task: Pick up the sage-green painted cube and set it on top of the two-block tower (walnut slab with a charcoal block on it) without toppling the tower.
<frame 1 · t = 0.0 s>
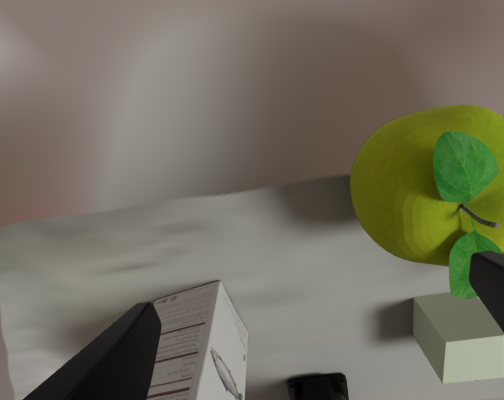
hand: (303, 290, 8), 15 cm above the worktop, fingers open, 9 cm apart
sage cube: (439, 312, 27), on the worktop
supplement box: (203, 313, 28), on the worktop
fruit: (394, 165, 21), on the worktop
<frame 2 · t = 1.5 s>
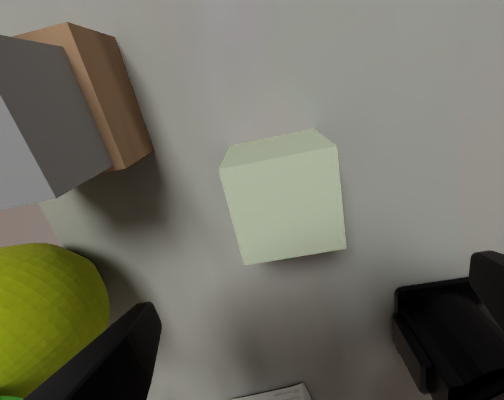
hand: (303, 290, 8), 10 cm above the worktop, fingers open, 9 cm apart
tower base: (88, 109, 16), on the worktop
sage cube: (278, 176, 17), on the worktop
fruit: (72, 268, 20), on the worktop
tower mid: (38, 123, 12), point 4 cm above the worktop
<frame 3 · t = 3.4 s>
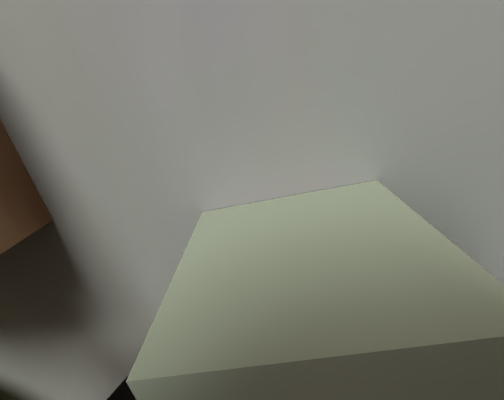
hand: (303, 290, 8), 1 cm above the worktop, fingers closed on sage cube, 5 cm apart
sage cube: (299, 267, 9), on the worktop, touching gripper
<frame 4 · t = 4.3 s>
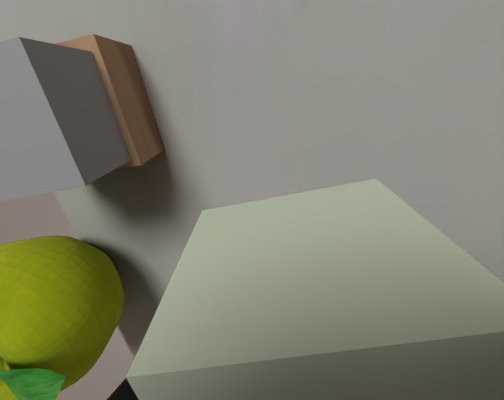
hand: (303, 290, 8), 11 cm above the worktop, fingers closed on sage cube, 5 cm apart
tower base: (105, 110, 17), on the worktop
sage cube: (298, 266, 9), point 10 cm above the worktop, touching gripper
fruit: (87, 261, 22), on the worktop
tower mid: (65, 119, 13), point 4 cm above the worktop
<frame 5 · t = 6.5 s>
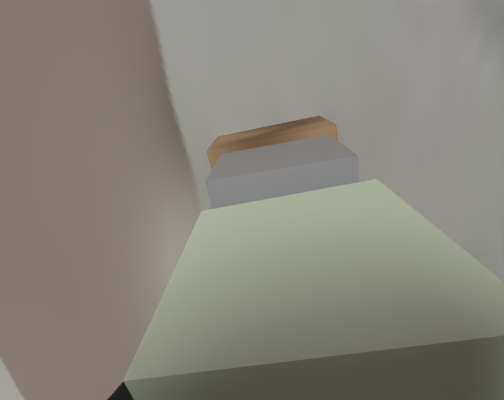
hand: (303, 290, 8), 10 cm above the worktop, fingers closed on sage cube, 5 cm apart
tower base: (276, 173, 17), on the worktop, touching tower mid
sage cube: (298, 267, 9), point 9 cm above the worktop, touching gripper
tower mid: (281, 194, 14), point 4 cm above the worktop, touching tower base
when the fingers open (10 cm above the worktop, at t = 6.5 s): sage cube drops 1 cm, resting on tower mid.
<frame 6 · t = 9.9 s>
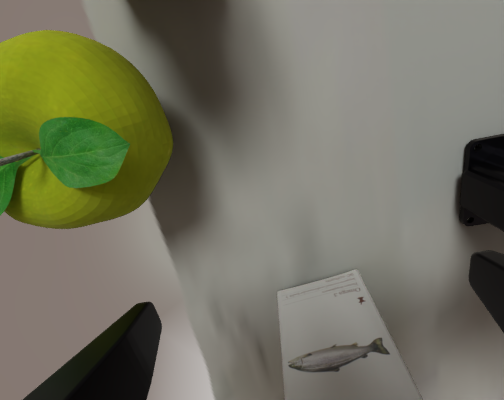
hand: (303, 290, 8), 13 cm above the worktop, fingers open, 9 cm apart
supplement box: (325, 306, 25), on the worktop
fruit: (123, 124, 19), on the worktop
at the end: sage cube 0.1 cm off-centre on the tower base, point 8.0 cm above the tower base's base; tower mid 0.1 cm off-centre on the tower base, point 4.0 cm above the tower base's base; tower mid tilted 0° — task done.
